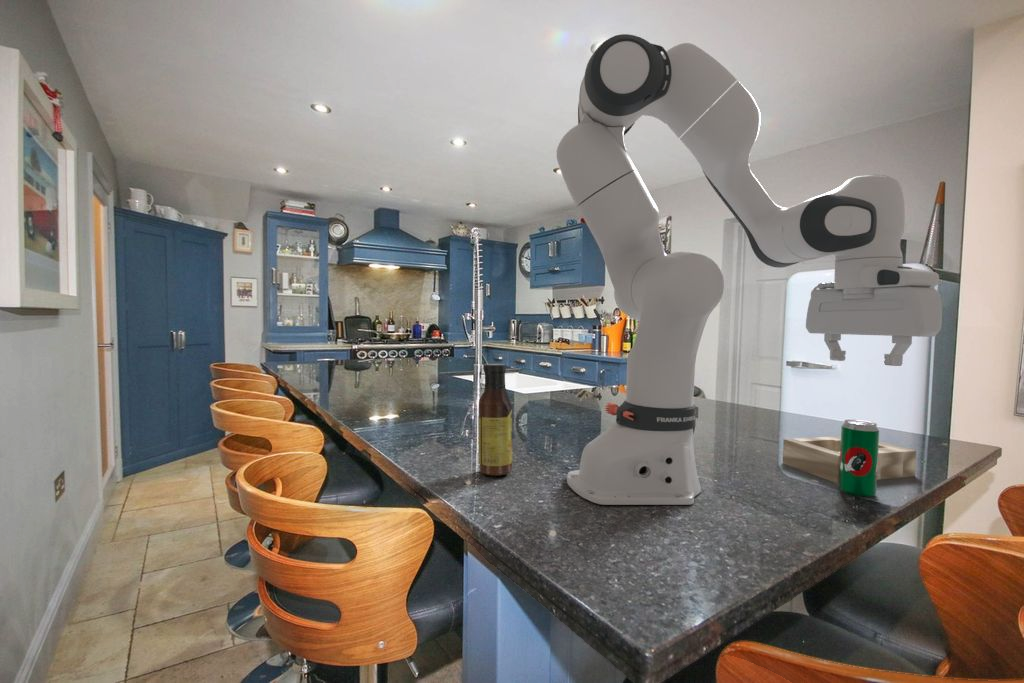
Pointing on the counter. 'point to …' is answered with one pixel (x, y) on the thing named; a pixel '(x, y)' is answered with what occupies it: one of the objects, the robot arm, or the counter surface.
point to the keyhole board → (825, 458)
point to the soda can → (859, 458)
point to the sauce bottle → (495, 423)
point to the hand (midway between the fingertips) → (863, 363)
